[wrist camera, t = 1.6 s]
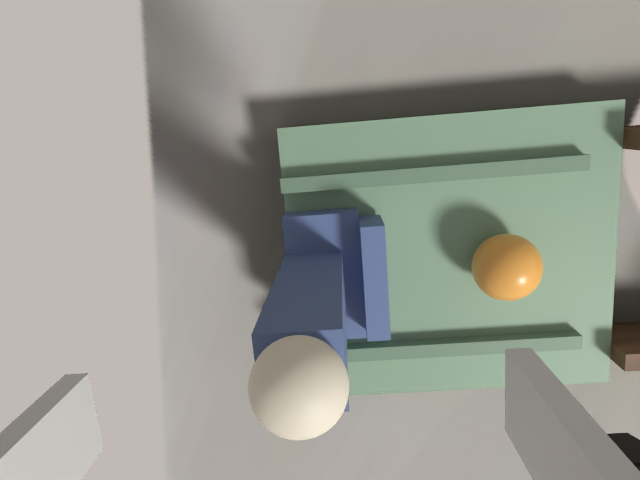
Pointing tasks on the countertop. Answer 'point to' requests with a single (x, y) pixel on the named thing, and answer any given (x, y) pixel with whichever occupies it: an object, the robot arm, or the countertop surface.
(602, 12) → the countertop surface
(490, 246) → the ball
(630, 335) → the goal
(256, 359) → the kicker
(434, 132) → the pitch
